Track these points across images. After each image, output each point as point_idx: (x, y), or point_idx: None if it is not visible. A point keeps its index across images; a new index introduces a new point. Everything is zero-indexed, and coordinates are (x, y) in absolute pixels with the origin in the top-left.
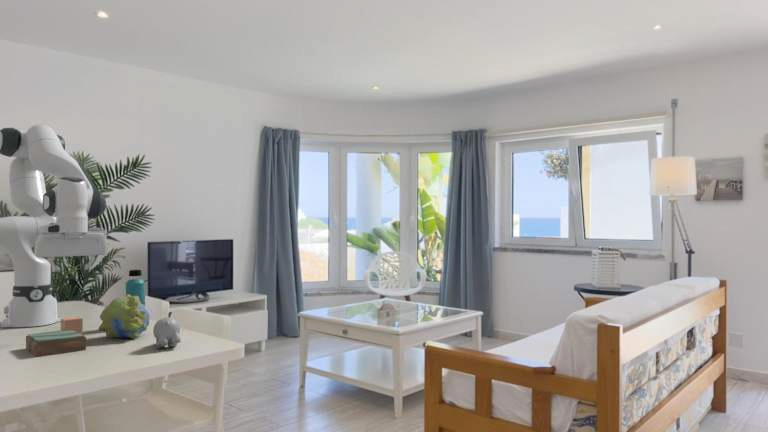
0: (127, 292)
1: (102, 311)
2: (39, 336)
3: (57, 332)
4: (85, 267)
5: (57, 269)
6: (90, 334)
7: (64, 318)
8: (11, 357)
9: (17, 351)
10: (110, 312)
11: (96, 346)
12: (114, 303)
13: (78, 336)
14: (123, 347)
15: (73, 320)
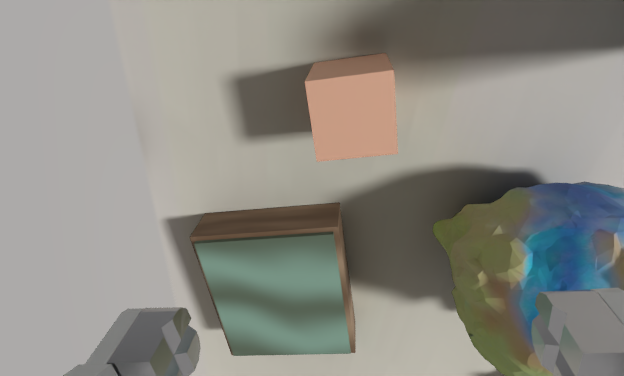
0: None
1: (465, 282)
2: (231, 295)
3: (284, 264)
4: (553, 329)
5: (185, 370)
6: (432, 81)
7: (321, 99)
8: (184, 298)
9: (187, 239)
10: (473, 344)
11: (389, 302)
12: (508, 371)
13: (335, 353)
14: (444, 350)
15: (355, 155)
